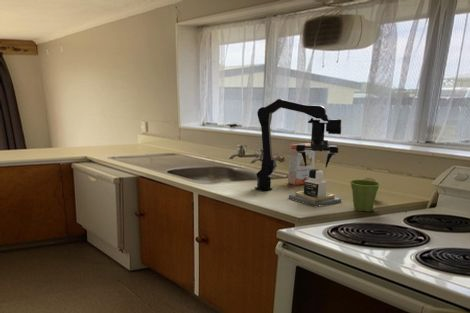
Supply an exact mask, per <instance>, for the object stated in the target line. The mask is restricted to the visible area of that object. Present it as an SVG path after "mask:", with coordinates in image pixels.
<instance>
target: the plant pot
mask: <svg viewBox="0 0 470 313" xmlns="http://www.w3.org/2000/svg"><path fill="white" fill-rule="evenodd" d="M349 183H350V187H351V193H352V201H353V208H354V209H353V210H356V211H359V212H363V211H365V212H367V213H368V212H371V211H373V209H374V205H375V202H376V201H375V200H376V197H377V194H378V191H379V188H380V186H381V183H380V181H379V182H378V181H376V180H375V181H371V180H362V179H352V180H350V181H349Z"/></svg>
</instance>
